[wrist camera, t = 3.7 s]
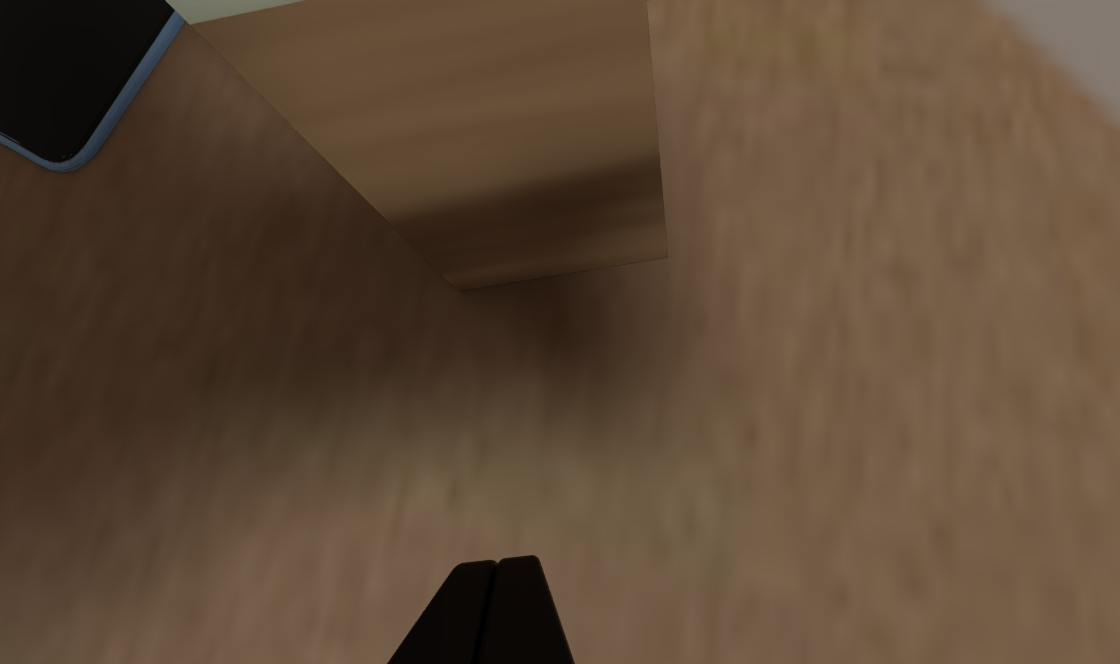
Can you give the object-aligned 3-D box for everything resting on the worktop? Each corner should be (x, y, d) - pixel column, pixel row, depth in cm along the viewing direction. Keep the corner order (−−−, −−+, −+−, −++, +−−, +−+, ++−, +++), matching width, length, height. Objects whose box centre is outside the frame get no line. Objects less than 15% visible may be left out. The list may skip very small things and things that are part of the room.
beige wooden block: (668, 257, 19) (634, -145, 8) (457, 291, 20) (131, -35, 8) (637, 64, 20) (567, -536, 9) (439, 102, 21) (132, -414, 9)
